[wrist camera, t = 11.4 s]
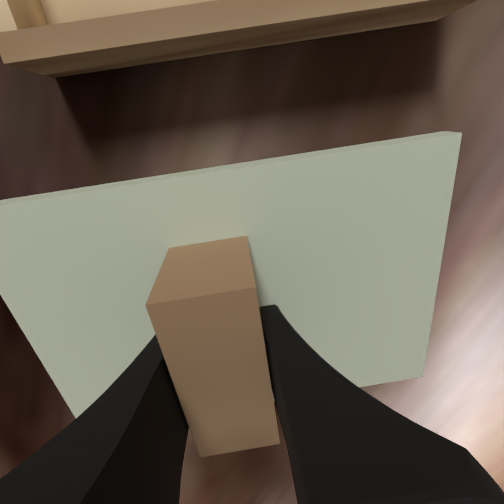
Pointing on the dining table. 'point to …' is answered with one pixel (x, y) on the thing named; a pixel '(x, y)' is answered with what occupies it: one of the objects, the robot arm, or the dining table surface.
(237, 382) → the pale green plate
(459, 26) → the dining table surface
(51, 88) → the dining table surface
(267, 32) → the wooden box
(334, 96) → the dining table surface
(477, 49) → the dining table surface
